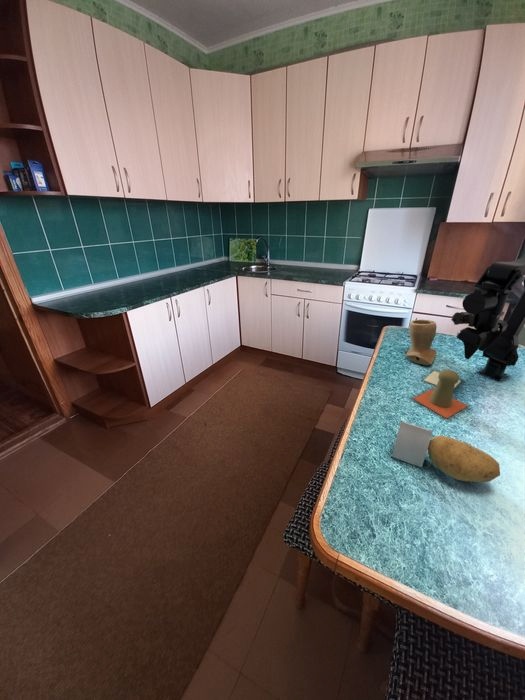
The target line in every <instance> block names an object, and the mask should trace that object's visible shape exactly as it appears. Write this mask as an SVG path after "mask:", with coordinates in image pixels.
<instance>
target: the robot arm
mask: <svg viewBox="0 0 525 700" xmlns="http://www.w3.org/2000/svg"><path fill="white" fill-rule="evenodd" d="M524 276H525V256H522V257H520V258H518V259H515V260H513V261H494V262H493V263H491V264H490V265H489V266H488V267H487V268H486V269H485V270H484V272H483V273H482V275H481V276H480V277H479V279H478V280H477V282H476V283H475V285H474V288H475V289H473V293H469V294H467V295H466V296H465V297H464V298H463V299H462V308H463V310H464V311H461V312H459V311H457V312H455V313H454V314H453V315H452V318H451V321H452V323H453V325H454V326H459V325H467V327H465V328H462V329H460V330H458V331H457V334H456V338H457V339H458V340H459V341H461V342H462V343H463V349H464V350H463V351H464V359H466V360H470V359H471V357H473V355H474V354H475V353H476V352H478V351H479V352H482V357H484V358H486V359H487V361H486V363H485V366H484V368H483V369H481V370H480V371H479V372H478V373H479V374H480V375H482V376H485V377H488V378H490V379H493V380H495V381H498V382H499V381H502V379H504V378H505V377H507V376H508V373H505V372H506V370H507V367H515V366H516V364H517V362H518V360H519V354H518V351H517V350H518V349H519V347H520V344H519V338H518V337H519V335H520V333H521V332H522V330H523V328H524V327H525V277H524ZM523 277H524V278H523ZM521 280H522V282H523V283H522V284H523V289H524V290H523V292H522V293H521V296H520V297H519V299H518V301H517V302H516V304H515V306H514V308H513V310H512V311H511V313H510V315H508V318H507V320H503V319H501V317H503V316H504V315H505V311H504V308H505V307H506V306H505V305H506V303H507V301H508V298H509V295H510V293H511V292H513V290H514V289H515V287H516V286H517V285H518V283H520V282H521Z"/></svg>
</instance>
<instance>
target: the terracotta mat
mask: <svg viewBox="0 0 525 700" xmlns="http://www.w3.org/2000/svg"><path fill="white" fill-rule="evenodd" d="M434 389H435V387H433V388H431V389H429V390H427V391H425V392H423V393H422V394H419V395H417V396H415V397H413V398H412V400H413V401H415V402H416V403H418V404H420V405H422V406H423V407H425V408H427V409H428V410H430V411H431V412H433V413H435V414H437V415H439V416H440V417H442V418H443V419H446V420H447V419H449V418H451V417H453V416H454V415H456V414H457V413H459V412H461V411H463V410H465V409H467V408H468V405H467V404H466V403H463V402H461V401H460V400H458V399H455V398H454V397H453V398H452V404H451V407H449V408H441V407H438V406H436V405H434V404H432V403H431V402H430V397H431V395H432V393H433V391H434Z"/></svg>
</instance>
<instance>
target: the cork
mask: <svg viewBox="0 0 525 700" xmlns="http://www.w3.org/2000/svg"><path fill="white" fill-rule="evenodd" d="M438 378H439V381H438V383H437V385H435V387H434V391H433V393H432V395H431V397H430V402H431V403H432V404H434V405H436V406H438V407H441V408H449V407H451V404H452V398H454V392H455V389H454V385H455V384H456V383H457V382H458V380H460V376H459V373H458V372H456V371H454V370H452V369H442V370H441V371H439V376H438Z"/></svg>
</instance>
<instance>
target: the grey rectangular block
mask: <svg viewBox="0 0 525 700" xmlns="http://www.w3.org/2000/svg"><path fill="white" fill-rule="evenodd" d="M396 434H397V435H396V438H395V442H394V446H393V450H392V455H391V457H392V458H394V459H397V460H399V461H403V462H405V463H408V464H411V465H413V466H415V467H419V468H423V465H424V462H425V459H426V456H427V454H428V447H429V443H430V440H431V439H432V435H433V430H432V429H428V428H426V427H422V426H420V425H419V426H418V425H416V424H412V423H409V422H405V421H403V420H400V423H399V428H398V431H397V433H396Z"/></svg>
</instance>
